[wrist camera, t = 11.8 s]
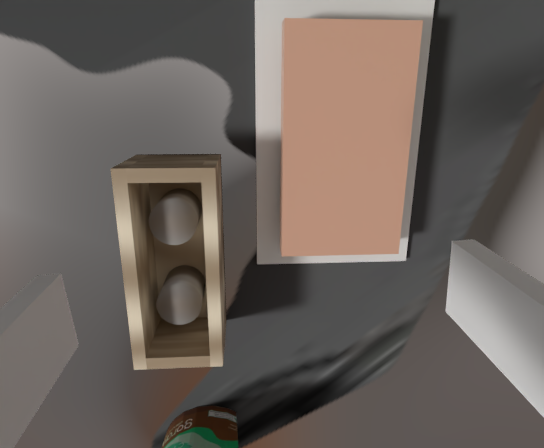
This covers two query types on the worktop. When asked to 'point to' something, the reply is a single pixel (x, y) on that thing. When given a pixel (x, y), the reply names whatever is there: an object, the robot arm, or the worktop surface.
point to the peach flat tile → (345, 133)
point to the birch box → (172, 258)
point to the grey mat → (268, 58)
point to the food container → (203, 429)
